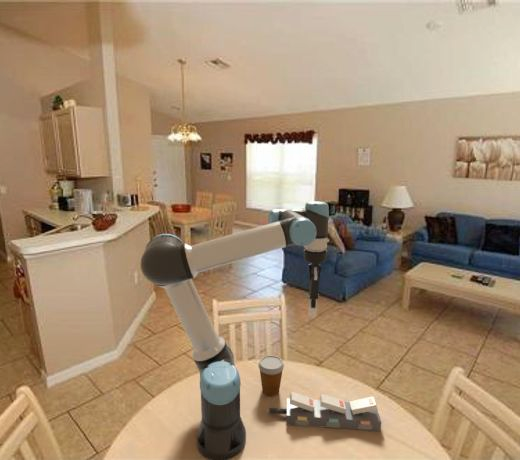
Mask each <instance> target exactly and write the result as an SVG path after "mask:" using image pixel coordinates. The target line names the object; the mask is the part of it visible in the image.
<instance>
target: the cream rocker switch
mask: <svg viewBox="0 0 520 460" xmlns="http://www.w3.org/2000/svg"><path fill="white" fill-rule="evenodd" d="M349 402H350V405H351V410H352V413H353V415H354V414H359V413H364V412H369V411H373V410H378V406H377V404H376V400H375V397H374V396H368V397H364V398H363V397H362V398H360V399H359V398H358V399H355V400H350V401H349Z"/></svg>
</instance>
